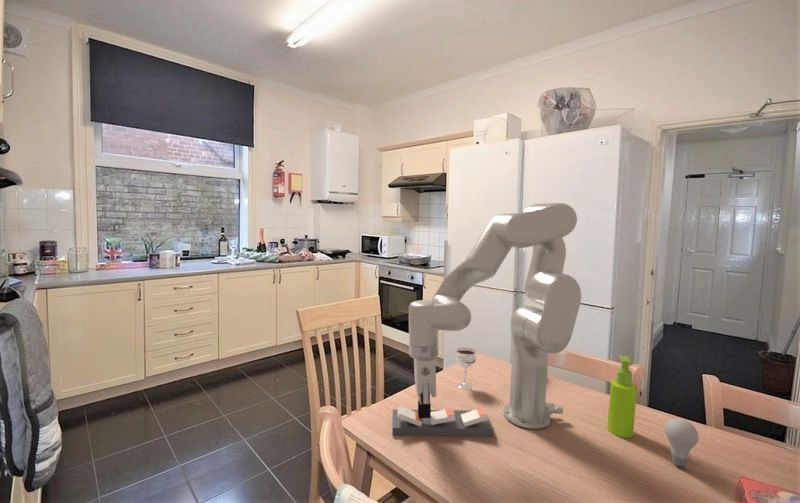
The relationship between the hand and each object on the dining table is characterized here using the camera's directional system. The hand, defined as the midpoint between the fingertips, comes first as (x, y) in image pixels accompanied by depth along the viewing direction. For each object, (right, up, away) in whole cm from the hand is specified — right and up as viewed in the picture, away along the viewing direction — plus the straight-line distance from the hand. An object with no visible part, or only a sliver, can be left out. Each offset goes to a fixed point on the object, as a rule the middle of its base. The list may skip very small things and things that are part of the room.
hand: (424, 416), depth 96 cm
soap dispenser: (+53, -5, +2) cm, 53 cm away
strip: (+5, -4, +2) cm, 6 cm away
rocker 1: (-4, 0, 0) cm, 4 cm away
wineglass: (+15, -2, +26) cm, 30 cm away
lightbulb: (+58, -6, -12) cm, 59 cm away
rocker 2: (+13, 0, 0) cm, 13 cm away
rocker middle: (+5, 0, 0) cm, 5 cm away
